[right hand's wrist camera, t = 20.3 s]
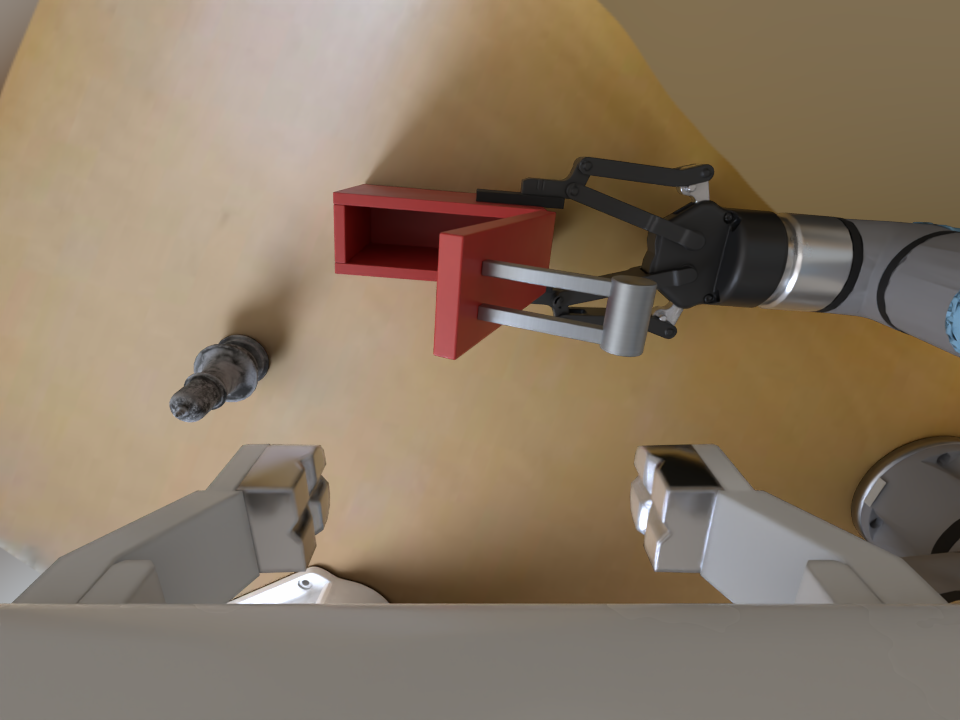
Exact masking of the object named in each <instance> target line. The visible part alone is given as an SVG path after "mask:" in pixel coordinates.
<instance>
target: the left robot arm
mask: <svg viewBox="0 0 960 720" xmlns="http://www.w3.org/2000/svg"><path fill="white" fill-rule="evenodd" d="M590 175H592V176H599V177H607V178H614V179H621V180H628V181H635V182H643V183H650V184H657V185H664V186H672V187H676V189H677V191H678V193H679V194H682V195H688V196H689V197H690V198H691V200H692V202H690V203H689V204H687V205H685V206H684V207H682V208H680V209H678V210H677V211H675V212H673V213H672V214H670V215H668V216H666V217H665V218H661V217H658V216H656V215H653V214H651V213H648V212H646V211H644V210H641V209H639V208H636V207H634V206H632V205H629V204H627V203H624V202H622V201H620V200H617V199H615V198H612V197H610V196H608V195H605V194H603V193H600V192H598V191H596V190H593V189H591V188H589V187H586V186H585V185H586V183H587V181H588V179H589V177H590ZM713 175H714V169H713V167H712V166H711V165H709V164H690V165H686V166H682V167H677V168H673V169H671V168H664V167H657V166H650V165H643V164H636V163H629V162H621V161H614V160H607V159H600V158H593V157H579V158H577V159H576V160H575V161H574V166H573V168H572V170H571V172H570V174H569V175H568V177H567V178H565V179H563V180H551V179H540V178H526V179H523V180H522V183H521V192H510V191H498V190H486V189H477V194H476V201H477V202H489V203H501V204H513V205H525V206H537V207H546V208H558V209H563V208H564V201H565V198H566V199H572V200H574V201H577V202H579V203H582V204H584V205H587V206H589V207H591V208H594V209H596V210H599V211H601V212H604V213H606V214H608V215H611V216H613V217H616V218H618V219H621V220H623V221H625V222H628V223H630V224H633V225H635V226H637V227H640V228H642V229H645V230H647V231H649V232H648V237H647V248H648V250H647V252H646V254H645V256H644V259H643V263H642V266H638V267H633V268H630V269H629V270H626V271H622V272H617V273H612V274H607V275H602V276H598V277H604V278H610V279H612V277H613V276H618V275H628V276H637V277H642V278H647V279H650V280H653V281H655V282H656V283H657V290H658V291H659V292H660V293H661V294H663V295H664V296H665V297H666V298H667V299H668V300H669V303H668V304H667V305H665V306H655V307H653V308H652V312H651V317H650V321H649V326H648V332H651V333H653V334H656V335H659V336H661V337H664V338H666V339H671V338H673V337H674V336H675V335H676V333H677V329H676V327H675V326H674V325H675V323H676V322H677V320H678V318H679V316H680V314H681V313H682V311H683V309H688V308H691V307H693V306H696V305H699V304H710V305H723V306H736V307H749V308H751V307H756V306H758V307H760V308H763V309H776V310H791V311H806V312H822V313H834V314H844V315H854V316H860V317H865V318H869V319H872V320H874V321H877V322H879V323H881V324H884V325H886V326H888V327H891V328H893V329H895V330H898V331H901V332H903V333H906V334H908V335H912V336H914V337H916V338H918V339H921V340H923V341H925V342H927V343H929V344H931V345H934V346H936V347H938V348H940V349H942V350H945V351H947V352H949V353H951V354H953V355H956V356H958V357H960V228H953V227H950V226H947V225H937V224H933V223H929V222H913V223H903V222H890V221H873V220H856V219H843V218H837V217H829V216H817V215H805V214H794V213H779V214H775V213H773V212H769V211H757V210H745V209H733V208H723V207H720V206H719V205H717V204H716V203H715V202H713V201H711V200H709V183H708V181H709V180H710V179H711V178H712V177H713ZM603 298H608V297H606V296H601V295H595V294H589V293H583V292H577V291H571V290H565V289H559V288H554V287H548V286H546V292H545V293H544V294H543V295H541V296H540V297H539V298H537V299H536V300H535V301H533V302H532V303H531V304H544V305H549V306H550V307H552V310H553V316H554V317H559V318H565V319H570V320H575V321H581V322H586V323H591V324H596V325H602V326H603V324H604V318H605V312H606V308H592V307H568V306H569V305H574V304H578V303H583V302H588V301H593V300H598V299H603ZM851 515H852V520H853V523H854V526H855V528H856V529H857V531H858V532H859V534H860V535H861V536H862V537H863V538H864V539H865V540H866V541H867V542H869V543H871V544H873V545H875V546H877V547H880V548H882V549H884V550H886V551H888V552H890V553H892V554H894V555H896V556H898V557H900V558H902V559H903V560H904V561H905V562H906V563H907V564H908V565H909V566H910V567H911V568H912V569H914V570H915V571H916V572H917V573H918V574H919V575H920V576H921V577H922V578H923V579H924V580H925V581H926V582H927V583H928V584H929V585H930V586H931V587H932V588H933V589H934V590H935V591H936V592H937V593H938V594H939V595H941V596H942V597H943V598H944V599H945V600H946V601H947V602H948V603H949V604H960V438H959V437H951V436H938V437H930V438H925V439H921V440H917V441H914V442H911V443H909V444H906V445H904V446H902V447H900V448H898V449H896V450H894V451H893V452H891V453H889V454H888V455H886V456H885V457H883V458H882V459H881V460H880V461H878V462H877V463H876V464H875V465H874V466H873V467H872V468H871V469H870V470H869V471H868V472H867V473H866V475H865V476H864V477H863V479H862V480H861V482H860V483H859V485H858V487H857V489H856V491H855V493H854V496H853V500H852V505H851Z"/></svg>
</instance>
